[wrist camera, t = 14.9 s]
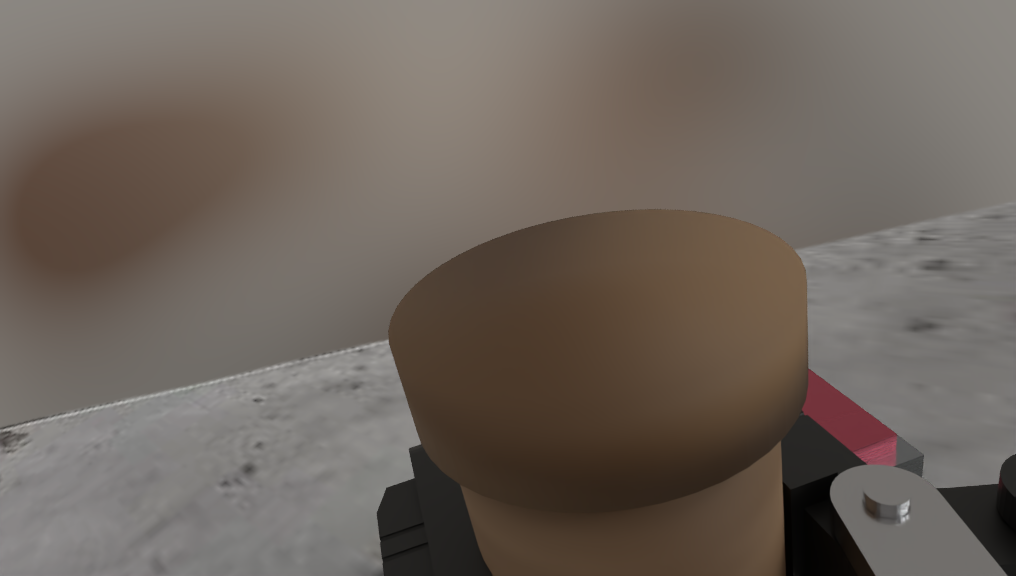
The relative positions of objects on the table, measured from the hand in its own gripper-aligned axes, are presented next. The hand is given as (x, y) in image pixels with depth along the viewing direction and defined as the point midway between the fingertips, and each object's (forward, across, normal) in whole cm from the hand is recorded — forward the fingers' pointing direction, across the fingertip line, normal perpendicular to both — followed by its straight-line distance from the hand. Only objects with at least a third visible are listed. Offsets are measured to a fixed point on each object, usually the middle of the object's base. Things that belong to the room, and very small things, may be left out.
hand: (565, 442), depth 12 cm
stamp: (-3, 0, +6) cm, 7 cm away
